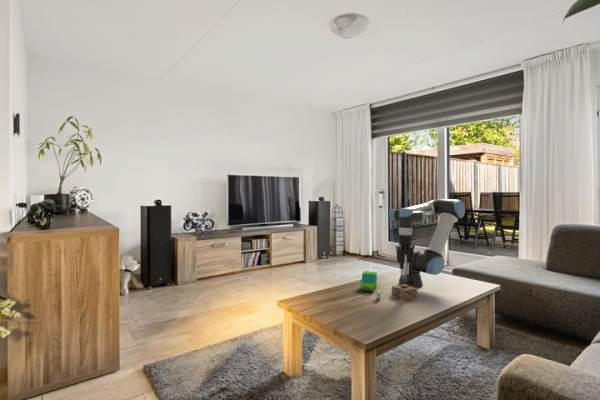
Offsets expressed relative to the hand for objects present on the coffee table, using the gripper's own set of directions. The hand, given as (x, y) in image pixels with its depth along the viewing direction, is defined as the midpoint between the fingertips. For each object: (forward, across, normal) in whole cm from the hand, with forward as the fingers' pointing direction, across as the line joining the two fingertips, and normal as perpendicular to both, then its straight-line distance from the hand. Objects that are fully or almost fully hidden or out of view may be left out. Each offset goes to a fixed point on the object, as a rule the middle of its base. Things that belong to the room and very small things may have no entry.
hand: (404, 273), depth 199 cm
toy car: (+14, -10, +21) cm, 27 cm away
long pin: (+5, 0, 0) cm, 5 cm away
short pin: (+14, -17, +3) cm, 22 cm away
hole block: (+14, 0, 0) cm, 14 cm away
